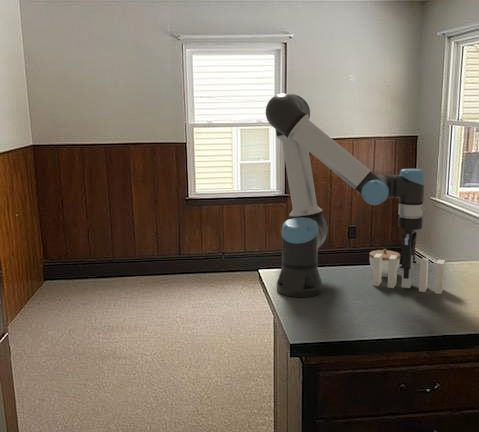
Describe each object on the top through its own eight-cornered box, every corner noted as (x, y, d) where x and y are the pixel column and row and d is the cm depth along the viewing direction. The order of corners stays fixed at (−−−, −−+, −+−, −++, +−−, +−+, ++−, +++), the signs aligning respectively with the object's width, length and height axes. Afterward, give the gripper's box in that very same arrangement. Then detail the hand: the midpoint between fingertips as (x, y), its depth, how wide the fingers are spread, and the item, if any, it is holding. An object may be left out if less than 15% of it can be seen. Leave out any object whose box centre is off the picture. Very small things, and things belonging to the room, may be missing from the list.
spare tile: (403, 287, 173) (404, 258, 172) (405, 283, 178) (406, 254, 176) (409, 288, 172) (410, 258, 171) (411, 283, 177) (413, 255, 175)
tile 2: (387, 287, 176) (388, 258, 174) (390, 283, 180) (391, 254, 178) (393, 288, 175) (394, 259, 173) (396, 283, 179) (397, 255, 177)
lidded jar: (403, 272, 192) (404, 247, 190) (394, 280, 183) (395, 254, 181) (374, 268, 197) (375, 244, 196) (364, 276, 189) (365, 250, 187)
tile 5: (434, 293, 169) (436, 263, 167) (436, 288, 174) (438, 259, 172) (441, 294, 168) (443, 263, 166) (443, 289, 173) (444, 260, 171)
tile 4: (418, 291, 171) (420, 261, 169) (420, 286, 176) (422, 257, 174) (425, 292, 170) (426, 262, 169) (427, 287, 175) (428, 258, 173)
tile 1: (372, 285, 178) (373, 257, 176) (375, 281, 182) (376, 253, 180) (378, 286, 177) (379, 257, 175) (381, 282, 181) (382, 254, 180)
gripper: (418, 222, 161) (415, 294, 165) (426, 212, 177) (422, 278, 181) (393, 220, 165) (390, 291, 169) (403, 211, 180) (400, 276, 185)
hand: (407, 284), depth 175 cm, fingers closed on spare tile, 5 cm apart
